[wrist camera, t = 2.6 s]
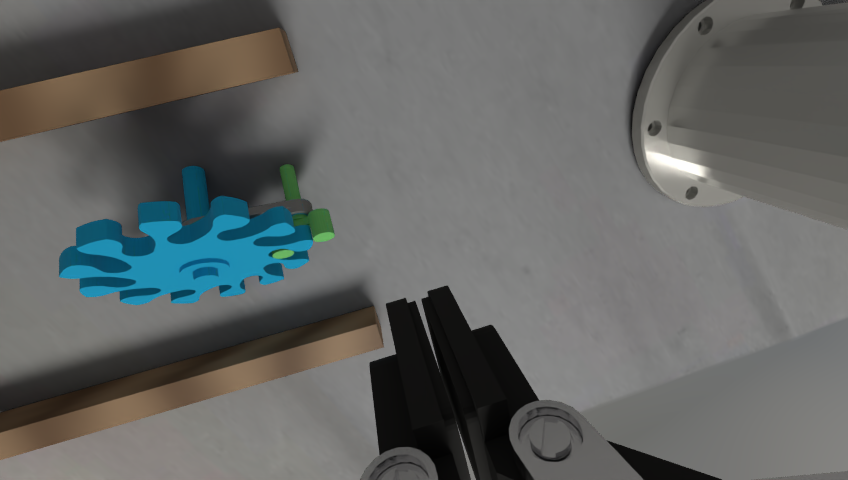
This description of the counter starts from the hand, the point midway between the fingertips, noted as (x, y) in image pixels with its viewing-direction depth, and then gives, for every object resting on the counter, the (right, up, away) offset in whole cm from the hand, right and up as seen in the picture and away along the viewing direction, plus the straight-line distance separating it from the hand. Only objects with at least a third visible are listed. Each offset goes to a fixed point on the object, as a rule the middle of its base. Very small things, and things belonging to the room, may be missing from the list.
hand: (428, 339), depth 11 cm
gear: (-11, +3, +12) cm, 16 cm away
